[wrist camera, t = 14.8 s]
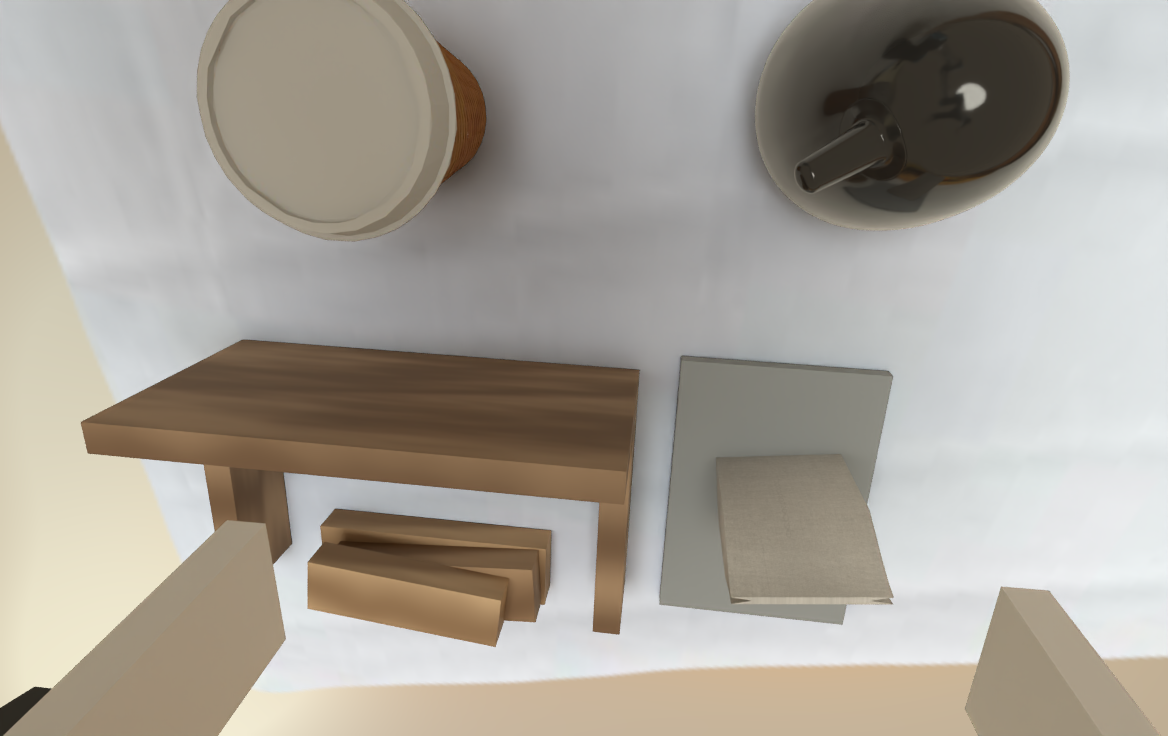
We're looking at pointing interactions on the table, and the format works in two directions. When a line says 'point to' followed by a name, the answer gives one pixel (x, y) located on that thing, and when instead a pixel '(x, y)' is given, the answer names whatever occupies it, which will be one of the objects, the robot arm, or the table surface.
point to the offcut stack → (430, 573)
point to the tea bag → (797, 532)
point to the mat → (757, 428)
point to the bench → (391, 433)
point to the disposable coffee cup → (335, 111)
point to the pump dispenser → (908, 106)
